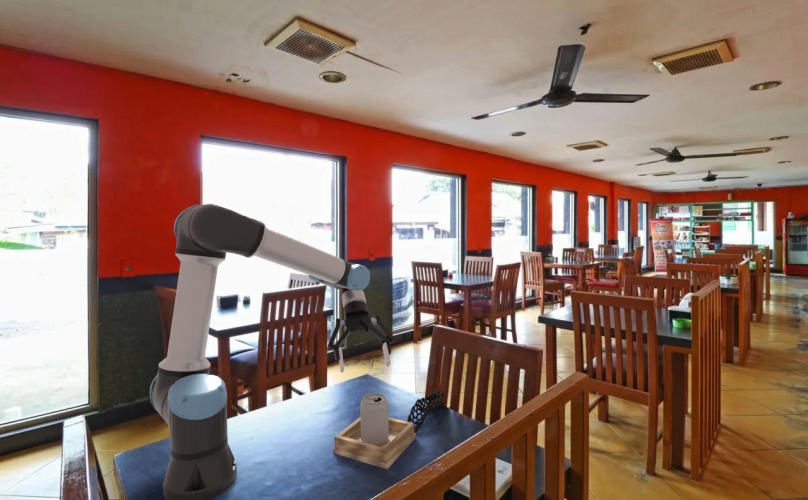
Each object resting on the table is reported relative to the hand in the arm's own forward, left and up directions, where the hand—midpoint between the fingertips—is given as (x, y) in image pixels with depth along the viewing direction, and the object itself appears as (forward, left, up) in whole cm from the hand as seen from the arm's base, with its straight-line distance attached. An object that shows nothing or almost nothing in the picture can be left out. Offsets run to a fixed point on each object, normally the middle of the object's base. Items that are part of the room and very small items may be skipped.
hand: (365, 367), depth 116 cm
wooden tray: (+7, -7, -18) cm, 20 cm away
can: (+7, -8, -17) cm, 20 cm away
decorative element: (+13, +14, -18) cm, 26 cm away
